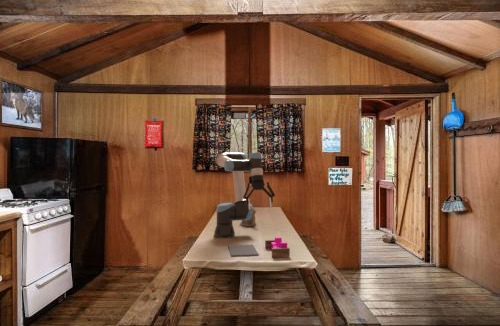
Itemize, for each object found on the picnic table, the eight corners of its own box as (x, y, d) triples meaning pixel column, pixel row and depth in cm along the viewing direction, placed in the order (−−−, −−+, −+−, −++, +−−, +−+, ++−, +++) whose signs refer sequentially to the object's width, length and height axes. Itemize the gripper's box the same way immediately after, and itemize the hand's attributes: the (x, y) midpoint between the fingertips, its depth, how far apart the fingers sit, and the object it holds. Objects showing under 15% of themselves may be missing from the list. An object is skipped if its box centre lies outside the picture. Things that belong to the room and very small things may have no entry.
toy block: (270, 249, 205) (270, 237, 204) (280, 248, 206) (280, 237, 206) (276, 256, 190) (276, 243, 190) (287, 255, 191) (287, 243, 191)
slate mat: (228, 246, 210) (228, 245, 210) (252, 245, 212) (252, 244, 212) (231, 256, 188) (231, 255, 188) (258, 255, 190) (258, 254, 190)
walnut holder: (265, 247, 207) (265, 240, 207) (280, 247, 208) (280, 239, 208) (272, 257, 186) (272, 249, 186) (289, 257, 187) (289, 248, 187)
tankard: (238, 223, 283) (238, 206, 283) (251, 222, 288) (251, 205, 288) (248, 228, 265) (248, 209, 265) (261, 227, 270) (262, 208, 270)
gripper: (238, 175, 205) (241, 209, 200) (277, 173, 209) (280, 206, 203) (237, 178, 212) (240, 210, 207) (275, 176, 216) (278, 208, 210)
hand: (260, 208), depth 205 cm, fingers open, 13 cm apart
